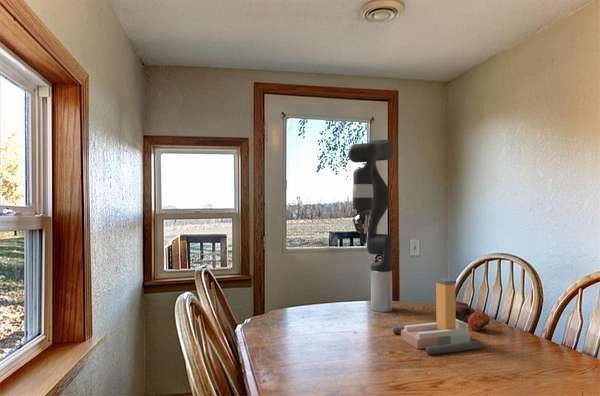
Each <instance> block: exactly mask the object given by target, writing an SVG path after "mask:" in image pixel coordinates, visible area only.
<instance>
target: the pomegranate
mask: <svg viewBox="0 0 600 396" xmlns="http://www.w3.org/2000/svg"><path fill="white" fill-rule="evenodd" d="M469 312H470V313H471V315H470V317H469V318H468V321H467V322H468V323H467V324H469V327H470V329H472V330H474V331H475V332H478V331H479V330H482V329H485V330H486V331H487V332H488V333H489V334H490V333H491V332H490V331H489V330H488V329H487V328H486V326H487V325H489V324H490V321H491V318H490V315H489V314H488V313H486V312H484V311H481V310H477V311H475V313H473V312H471V311H469Z"/></svg>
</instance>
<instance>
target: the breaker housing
mask: <svg viewBox="0 0 600 396" xmlns="http://www.w3.org/2000/svg"><path fill="white" fill-rule="evenodd" d="M403 326H404V330H401V333H400V340H403V341H404V342H406V343H407V344H409V345H410V346H412V347H414V348H415V349H416V350H421V349H426V348H427V347H429V346H437V345H446V344H454V343H462V342H471V339H470V338H471V333H469V331H470V328H469V327H470V326H469V323H467V322H465V321H464V322H462V321H460V320H457V319H456V328H455V329H446V330H440V329H438V328H436V322H428V323H427V322H426V323H419V324H410V325H403Z"/></svg>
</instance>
